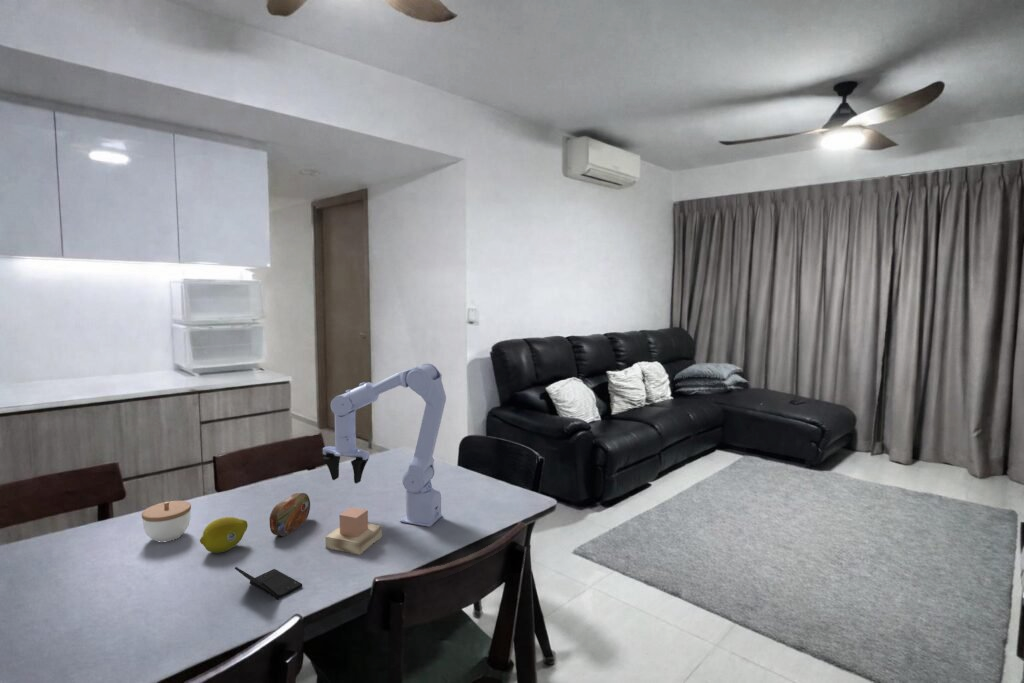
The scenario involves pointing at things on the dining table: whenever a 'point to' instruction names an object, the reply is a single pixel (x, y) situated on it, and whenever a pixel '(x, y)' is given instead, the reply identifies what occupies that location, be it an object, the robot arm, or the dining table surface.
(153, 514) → the lidded jar
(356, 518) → the terracotta cube
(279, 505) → the tin
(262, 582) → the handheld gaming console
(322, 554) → the dining table surface
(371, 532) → the birch block
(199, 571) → the dining table surface
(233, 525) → the lemon
